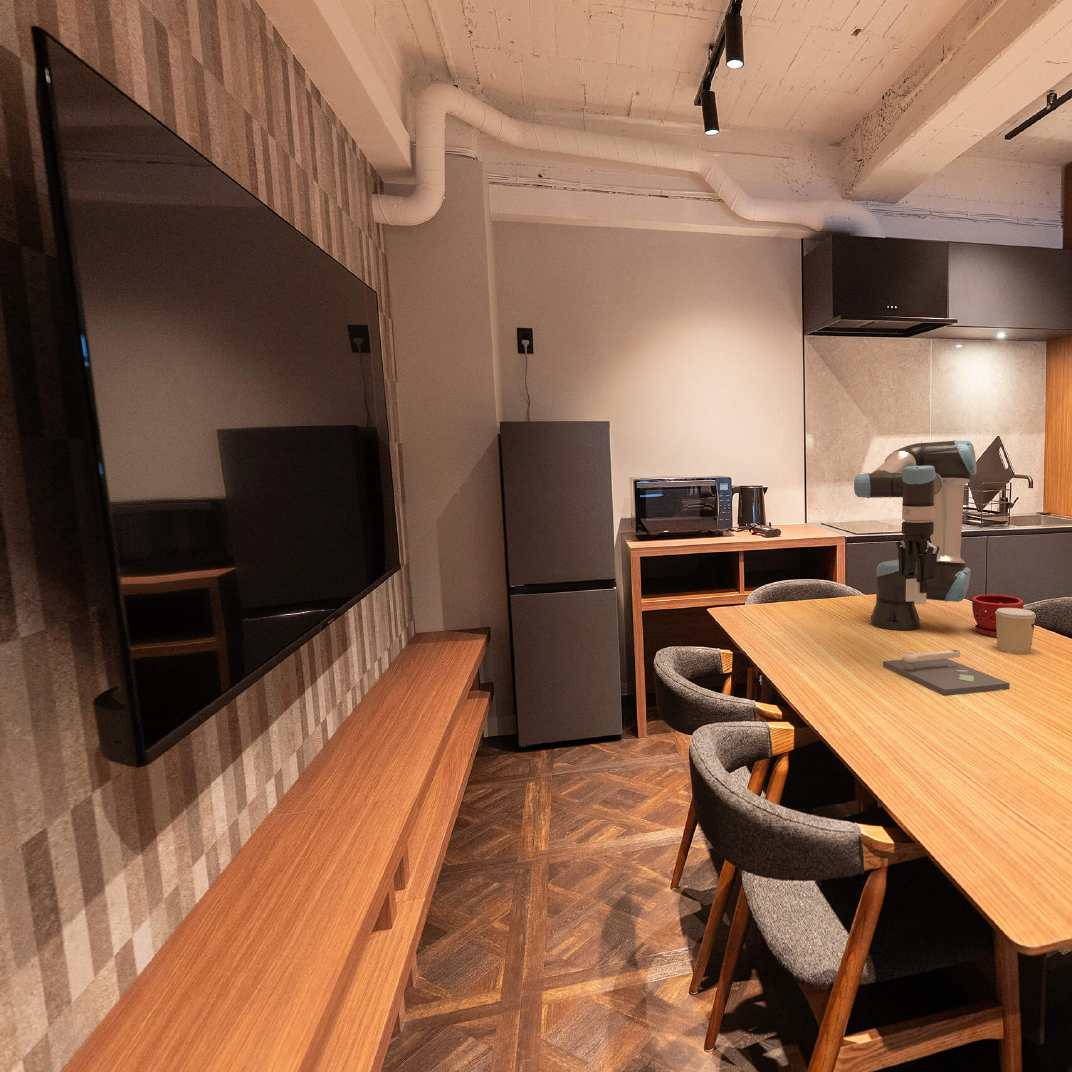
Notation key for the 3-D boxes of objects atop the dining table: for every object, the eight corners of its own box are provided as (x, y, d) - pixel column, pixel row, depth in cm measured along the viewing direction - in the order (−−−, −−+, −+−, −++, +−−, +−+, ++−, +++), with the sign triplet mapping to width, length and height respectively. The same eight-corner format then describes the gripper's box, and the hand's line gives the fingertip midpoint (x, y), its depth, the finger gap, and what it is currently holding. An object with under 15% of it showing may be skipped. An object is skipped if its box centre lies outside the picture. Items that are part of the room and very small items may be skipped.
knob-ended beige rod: (909, 663, 156) (909, 657, 156) (900, 659, 159) (900, 653, 159) (962, 658, 158) (963, 652, 157) (953, 654, 161) (953, 648, 160)
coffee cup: (1041, 655, 168) (1043, 615, 166) (1005, 654, 170) (1006, 615, 168) (1021, 645, 177) (1023, 607, 176) (987, 644, 179) (988, 607, 177)
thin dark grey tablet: (882, 666, 166) (883, 653, 165) (939, 660, 168) (940, 648, 167) (944, 695, 144) (945, 680, 144) (1009, 688, 146) (1010, 674, 145)
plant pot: (974, 626, 198) (976, 592, 197) (1024, 632, 189) (1026, 596, 188) (967, 635, 189) (968, 599, 188) (1019, 642, 180) (1021, 604, 179)
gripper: (885, 519, 168) (883, 597, 171) (927, 524, 153) (925, 610, 155) (908, 517, 169) (906, 595, 172) (953, 522, 153) (950, 607, 156)
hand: (915, 602), depth 164 cm, fingers open, 3 cm apart
